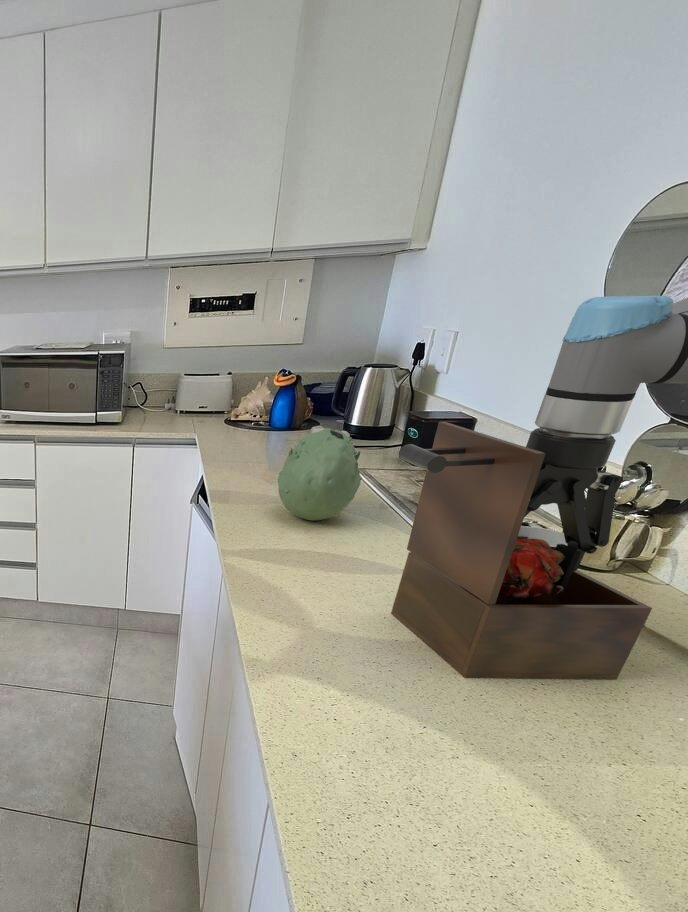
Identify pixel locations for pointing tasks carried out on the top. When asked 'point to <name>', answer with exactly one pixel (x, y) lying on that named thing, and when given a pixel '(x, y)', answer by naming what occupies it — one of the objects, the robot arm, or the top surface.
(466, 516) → the bin lid
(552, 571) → the dragon fruit
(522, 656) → the bread bin
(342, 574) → the top surface
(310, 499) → the green bumpy ovoid
